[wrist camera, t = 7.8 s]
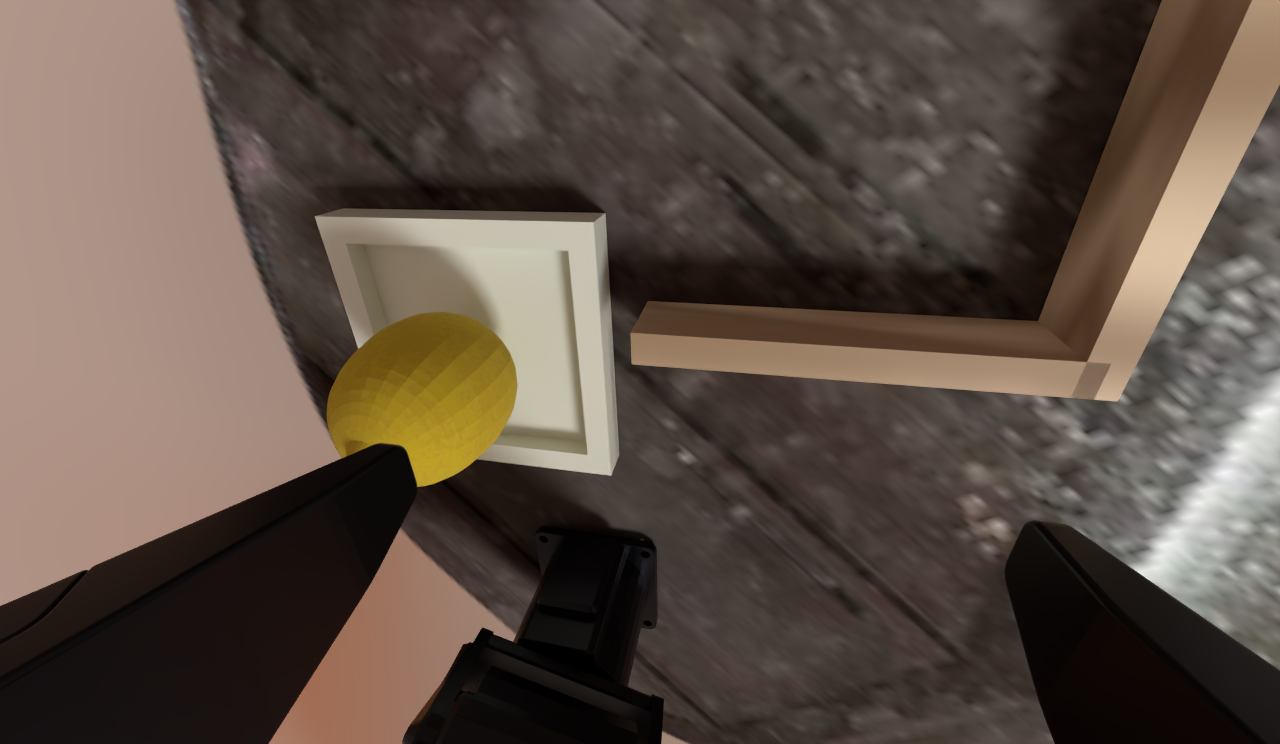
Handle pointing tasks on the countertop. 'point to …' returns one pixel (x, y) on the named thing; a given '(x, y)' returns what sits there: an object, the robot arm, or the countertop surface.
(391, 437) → the lemon
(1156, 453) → the countertop surface
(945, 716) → the countertop surface
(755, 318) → the u-shaped wooden frame
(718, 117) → the countertop surface
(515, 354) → the dish
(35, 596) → the robot arm
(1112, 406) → the countertop surface
